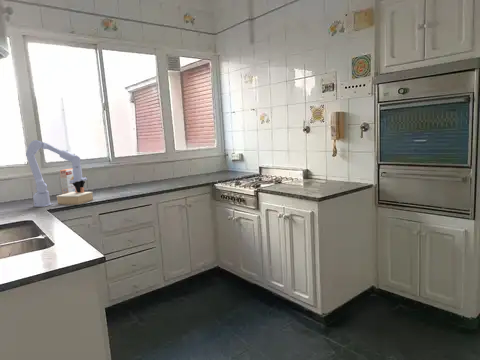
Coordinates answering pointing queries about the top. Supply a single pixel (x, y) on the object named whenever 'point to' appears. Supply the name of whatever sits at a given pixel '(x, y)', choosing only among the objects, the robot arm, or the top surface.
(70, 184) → the cracker box
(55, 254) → the top surface
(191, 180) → the top surface
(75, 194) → the lid
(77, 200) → the wooden drawer
